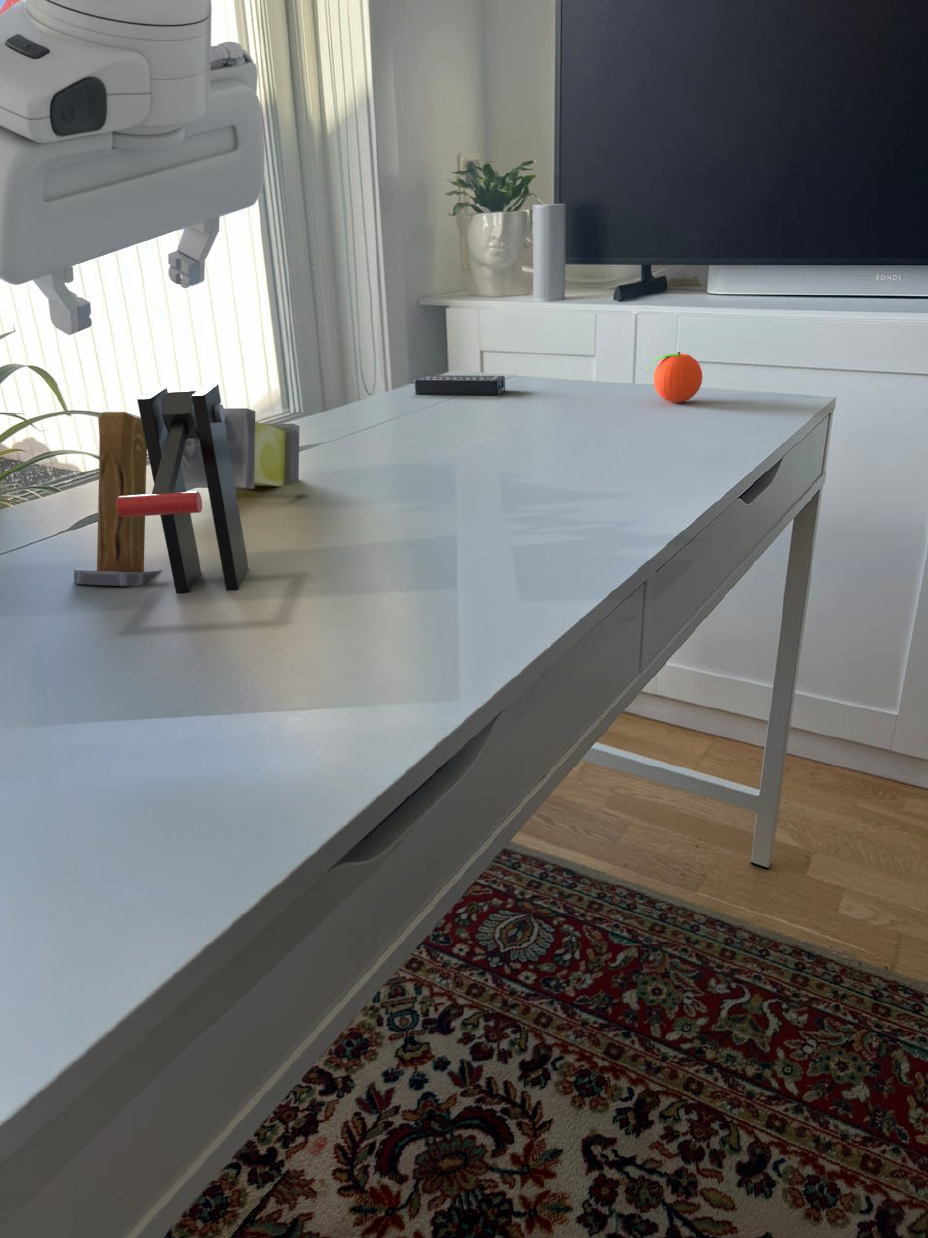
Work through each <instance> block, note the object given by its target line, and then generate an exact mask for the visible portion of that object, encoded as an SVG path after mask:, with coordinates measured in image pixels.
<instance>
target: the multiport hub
mask: <svg viewBox="0 0 928 1238" xmlns="http://www.w3.org/2000/svg"><path fill="white" fill-rule="evenodd" d="M413 381H414V395H440V396H441V395H444V396H446V395H447V396H499V395H501V394H502V393H503V392H505V391H506V376H504V375H450V374H449V375H446V374H445V375H443V374H442V375H438V374H437V375H436V374H435V375H433V374H432V375H431V374H430V375H429V374H427V375H426V374H424V375H422V376H420V377H418V378H416V379H414V380H413ZM503 388H504V389H503Z"/></svg>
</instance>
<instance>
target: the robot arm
mask: <svg viewBox="0 0 928 1238" xmlns="http://www.w3.org/2000/svg"><path fill="white" fill-rule="evenodd" d="M212 11H213V10H212V0H19V1H16V2H14V3H13V4H12V5H11V6H10V7H8V8H7V9H6V10H5V11H3V12H2V13H1V14H0V280H1V281H3V282H5V283H8V284H10V285H14V286H18V285H22V284H26V283H28V282H31V281H32V282H33V283H34V284H35V285H36V287H38V289H39V291H41V293H42V294H43V295H44V296H45V298H47V300H48V309H49V317H50V321H51V324H52V325H53V326H54V328H56V329H58V330H59V331H61V332H63V333H64V334H66V335H68V336H71V335H74V334H77V333H79V332H81V331H83V330H87V329H89V328H90V327H92V325H93V321H92V319H91V318H90V316H91V314H92V308H91V302H90V301H88V300H87V299H86V298H83V297H80V296H78V295H77V294H76V293H75V292H73V291H72V290H70V289H69V287H67V284H70V283H72V282H74V280H75V279H74V278H75V277H74V267H76V266H79V265H82V264H85V263H87V262H88V263H89V262H90V261H93V260H97V259H99V258H103V257H105V256H108V255H111V254H114V253H117V252H119V251H123V250H125V249H129V248H132V247H135V246H137V245H141V244H144V243H146V242H150V241H152V240H155V239H158V238H161V237H164V236H167V235H170V234H173V233H176V232H179V231H182V233H181V235H180V236H181V237H180V238H179V242H178V246H177V249H176V250H175V251H172V252H169V253H168V254H167V257H168V258H167V260H168V261H167V262H168V263H167V264H168V266H169V268H168V277H169V279H170V281H171V282H172V283H174V284H176V285H180V287H181V288H183V289H188V288H190V287H193V286H196V285H199V284H202V283H204V281H205V275H206V274H205V273H206V271H205V270H206V269H205V267H206V259H207V258H208V256H209V254H210V251H211V249H212V247H213V245H214V243H215V240H216V239H217V236H218V234H219V232H220V220H221V219H220V218H222V217H223V216H226V215H229V214H233V213H235V212H238V211H242V210H244V209H247V208H251V207H253V206H254V205H255V204H256V203H257V201H258V200H259V197H260V195H261V193H262V191H263V188H264V185H265V137H264V121H263V112H262V106H261V105H262V104H261V102H260V99H259V96H258V94H257V93H258V92H257V91H258V68H257V65H256V63H255V62H254V59H253V58H252V56H251V55H250V53H249V52H247V50H245V49H243V46H242V45H241V44H240V43H238V42H236V41H223V42H221V43H219V44H217V45H212V15H213V13H212Z"/></svg>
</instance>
